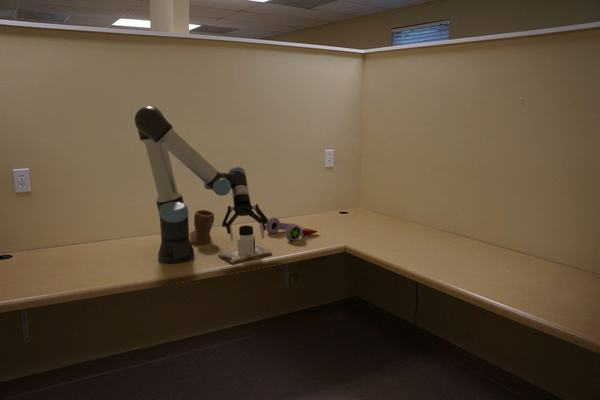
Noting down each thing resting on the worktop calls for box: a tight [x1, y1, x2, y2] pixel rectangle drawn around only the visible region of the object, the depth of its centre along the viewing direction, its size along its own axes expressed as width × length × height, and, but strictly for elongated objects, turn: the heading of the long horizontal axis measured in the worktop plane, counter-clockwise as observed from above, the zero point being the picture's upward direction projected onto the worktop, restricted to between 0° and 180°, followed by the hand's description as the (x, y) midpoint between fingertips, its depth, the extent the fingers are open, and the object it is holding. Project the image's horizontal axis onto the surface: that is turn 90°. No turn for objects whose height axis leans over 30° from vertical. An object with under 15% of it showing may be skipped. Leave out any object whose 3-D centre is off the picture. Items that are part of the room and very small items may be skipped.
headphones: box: [265, 217, 318, 242], centre depth 228 cm, size 20×10×20 cm
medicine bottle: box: [237, 224, 256, 255], centre depth 196 cm, size 7×7×12 cm
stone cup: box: [189, 209, 215, 244], centre depth 217 cm, size 15×12×15 cm
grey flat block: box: [217, 245, 273, 265], centre depth 197 cm, size 20×12×2 cm, turn 128°
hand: (247, 238), depth 193 cm, fingers open, 13 cm apart
